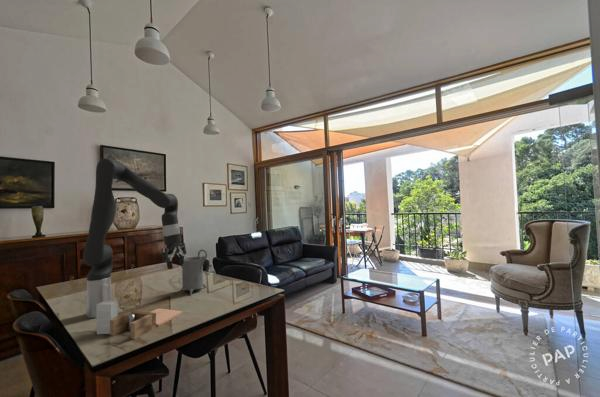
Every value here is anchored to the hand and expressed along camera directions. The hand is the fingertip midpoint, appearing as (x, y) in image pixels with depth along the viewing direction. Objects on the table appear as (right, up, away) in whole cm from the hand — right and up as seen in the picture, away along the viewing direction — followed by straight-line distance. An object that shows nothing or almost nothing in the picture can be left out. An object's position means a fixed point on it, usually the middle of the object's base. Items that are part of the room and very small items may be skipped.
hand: (176, 266), depth 129 cm
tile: (-4, -21, -8) cm, 23 cm away
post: (-10, -21, -19) cm, 30 cm away
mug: (-3, -23, +29) cm, 37 cm away
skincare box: (-18, -22, -21) cm, 35 cm away
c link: (-8, -21, -21) cm, 31 cm away
